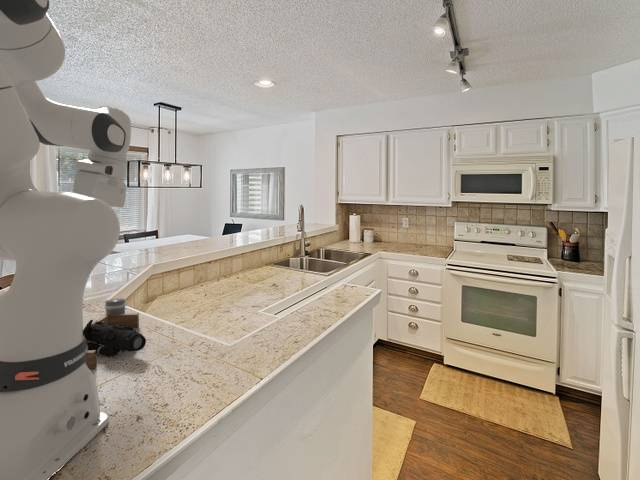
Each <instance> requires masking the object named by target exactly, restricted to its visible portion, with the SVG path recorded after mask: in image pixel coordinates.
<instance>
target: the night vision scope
mask: <svg viewBox="0 0 640 480" xmlns="http://www.w3.org/2000/svg"><path fill="white" fill-rule="evenodd" d="M93 322H95V321H94V320H93V319H90V320H89V321H88V322H87V324H86V325H85V327H83V329H84V330H83V336H85V338H86V339H87V340H88V341H90V343H88V344H87V347H88V350H96V355H99V356H100V355H101V356H103V357H108V358H110V359H111V358H115V359H116V358H117V357H116V356H118V355H119V353H120V352H123V353H124V352H131V353H132V352H139V351H141V350H143V349H144V348H145V346H146V344H147V339H146V337H145V336H144V335H143V334H141V333H140V332H138V331H137V330H135V329H134V328H132V327H129V326H127V325H123V326H122V325H120V324H117V325H116V326H110V325H105V324H103V323H101V322H95V324H92V323H93ZM91 341H92V342H91Z"/></svg>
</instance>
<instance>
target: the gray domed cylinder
mask: <svg viewBox="0 0 640 480" xmlns="http://www.w3.org/2000/svg"><path fill="white" fill-rule="evenodd" d="M126 304H127V303H126V300H125V298H123V297H122V298H110V299H107V300H105V304H104V309H105V314H126V306H127V305H126Z"/></svg>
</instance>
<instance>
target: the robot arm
mask: <svg viewBox="0 0 640 480" xmlns="http://www.w3.org/2000/svg"><path fill="white" fill-rule="evenodd" d="M49 9H50V0H0V261H15V270H14V275H13V279H12V281H11V285H10V287H9V288H8V289H7V290H6V291H5V292H3V293H2V294H0V480H47V479H48V478H49V477H50V476H51V475H52V474H53V473H54V472H56V471H57V470H58V469H60V468H61V467H62V466H63V465H65V464H66V463H67V462H68V461H69V460H70V459H71V458H72V457H73V456H74V455H75V454H76V453H77V452H78V451H79V450H80V449H81V450H83V449H84V448H85V446H86V445H88V443H89V442H91V441H92V440H93V439H94V437H96V436H97V435H98V434H99V433H100V432H101V431H102V430H103V429H104V428H105V427H106V426H107V425H108V424H109V421H110V420H109V416H108V414H106V413H105V412H103V411H101V405H100V396H99V392H98V391H99V390H98V383H97V378H96V376H95V374H94V373H93V372H92V371H91V370H89V368H88V366H87V365H86V363H85V361H86V360H87V350H88V347H87V344H86V338H85V337H84V336H83V329H84V326H83V325H84V324H83V322H84V321H83V319H84V316H83V314H84V313H83V312H84V310H83V307H84V305H83V304H84V295H85V289H86V286H87V284H88V281H89V278H90V276H91V274H92V272H94V269H95V267H96V266H97V265H98V264H99V263H100V262H101V261H102V260H104V259H105V258H106V257H108V256H109V255H110V254H111V253H112V252H113V250H114V249H116V248H115V247H116V246H117V244H118V242H119V239H120V234H121V225H120V220H119V217H118V215H117V214H116V211H115V209H114V208H112V207H115V208H122V209H123V208H124V206H125V204H126V197H127V185H126V183H125V182H124V181H125V178H126V173H127V166H128V160H127V158H128V157H127V154H128V152H129V150H130V146H131V140H132V139H131V137H132V124H131V123H132V121H131V118H130V116H129V115H128V114H127V113H125V112H124V111H123V110H120V109H119V108H117V107H115V106H108V105H101V106H99V107H98V108H97V109H93V108H91V109H90V108H85V107H80V106H79V107H77V106H75V105H74V106H73V105H67V104H62V103H58V102H56V101H53V100H51V99H49V98H47V97H46V96H45V95H44V94H43V91H42V90H41V88H40V86H39V85H38V83H37V82H38V81H43V80H45V79H48V78H50V77H52V76H53V75H54V74H56V73H57V72H58V71H59V70H60V69H61V68H62V66H63V64H64V62H65V58H66V57H65V56H66V47H65V44H64V41H63V38H62V35H60V32H59V30H58V29H57V27H56V25H55V24H54V22H53V21H52V19H51V18H50V17H49V15H48V11H49ZM40 143H41V144H43V145H46V146H54V147H65V148H67V147H68V148H73V149H80V150H86V151H89V152H88V153H87V158H85V159H80V160H76V161H75V163H74V168H75V169H76V170H77V171H76V172H75V174H74V180H73V190H72V192H69V191H68V192H67V191H46V190H45V191H44V190H42V191H41V190H40V191H39V190H38V189H37V188H36V186H35V185H34V183H33V180H32V177H31V169H30V164H31V163H30V161H31V160H32V159H33V158H35V156H36V155H37V154H38V153H39V149H40V145H41V144H40ZM81 450H80V451H81ZM80 451H79V452H80ZM79 452H78V453H79ZM78 453H77V454H78ZM77 454H76V455H77ZM76 455H75V456H76ZM75 456H74V457H75ZM74 457H73V458H74ZM73 458H72V459H73ZM72 459H71V460H72ZM71 460H70V461H71ZM70 461H69V462H70ZM69 462H68V463H69ZM68 463H67V464H68ZM67 464H66V465H67ZM66 465H65V466H66Z"/></svg>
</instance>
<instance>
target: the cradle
mask: <svg viewBox="0 0 640 480" xmlns="http://www.w3.org/2000/svg"><path fill="white" fill-rule="evenodd" d="M95 322H101V323H103V324H105V325H110V326H116V325H117V324H120V325H122V326H123V325H127V326H129V327H132V328H133V329H138V328H139V327H140V315H139V313H125V314H106V313H105V314H104V315H102V316H100V317H99V318H97V319H96V320H94V321H93V322H92V324H95ZM83 330H84V328H83ZM84 337H85V336H84ZM88 343H90V341H88V340H87V339H86V344H88ZM91 343H92V341H91ZM97 360H98V359H97V354H96V350H87V360H86V361H85V363H86V365H87V366H88V368H89V370H90V371H91V370H92V371H93V370H95V369H96V368H97V366H98V365H97Z"/></svg>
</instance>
